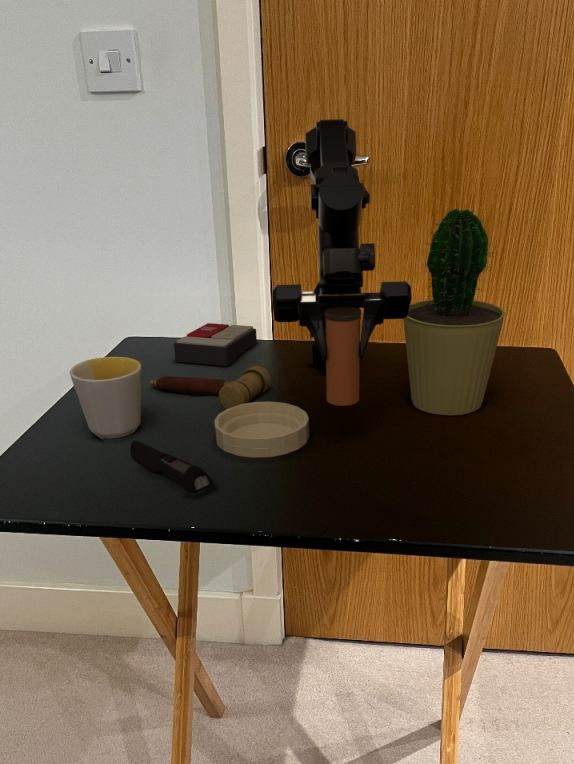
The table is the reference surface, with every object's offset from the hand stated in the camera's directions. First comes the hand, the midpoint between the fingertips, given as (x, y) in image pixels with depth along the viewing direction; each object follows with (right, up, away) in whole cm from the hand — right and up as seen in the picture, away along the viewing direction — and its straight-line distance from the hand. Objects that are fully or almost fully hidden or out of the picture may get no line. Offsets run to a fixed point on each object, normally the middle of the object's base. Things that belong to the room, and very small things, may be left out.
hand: (343, 358), depth 102 cm
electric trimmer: (-24, -16, +1) cm, 29 cm away
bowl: (-11, -10, +10) cm, 18 cm away
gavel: (-22, -1, +26) cm, 35 cm away
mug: (-33, -8, +15) cm, 37 cm away
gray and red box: (-22, +10, +46) cm, 52 cm away
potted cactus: (+18, -3, +21) cm, 28 cm away
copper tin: (0, -5, +4) cm, 7 cm away
